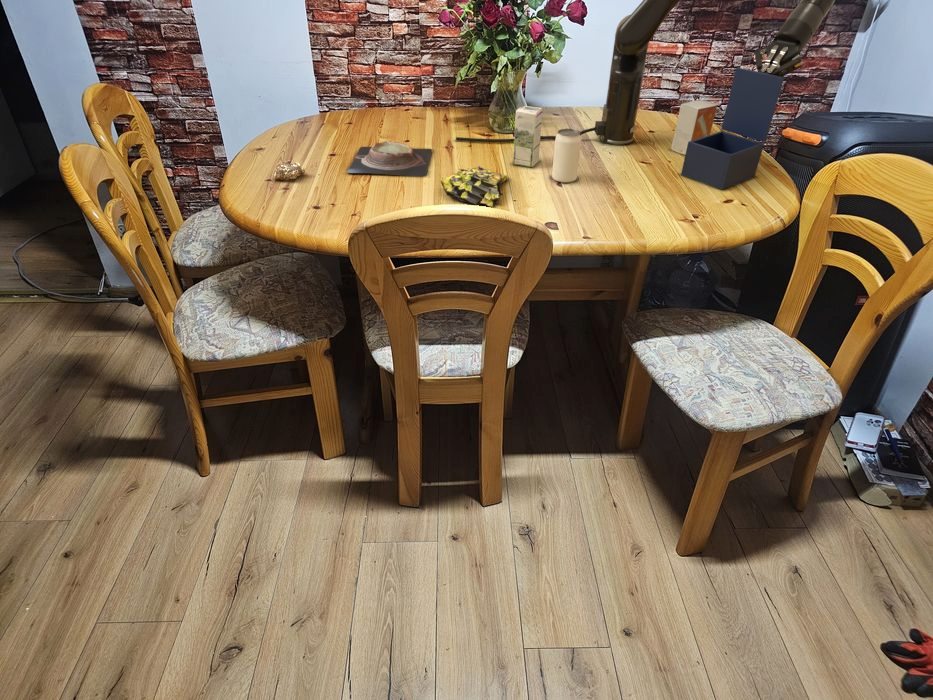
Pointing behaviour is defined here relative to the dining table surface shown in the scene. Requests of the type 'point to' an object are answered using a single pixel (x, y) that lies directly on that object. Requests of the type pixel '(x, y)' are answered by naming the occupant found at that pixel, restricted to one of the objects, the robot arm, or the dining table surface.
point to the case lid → (752, 103)
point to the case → (722, 159)
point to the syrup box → (527, 136)
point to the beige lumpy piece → (288, 171)
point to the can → (566, 155)
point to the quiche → (391, 160)
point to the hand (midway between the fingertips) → (757, 87)
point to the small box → (693, 123)
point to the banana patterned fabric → (474, 186)
